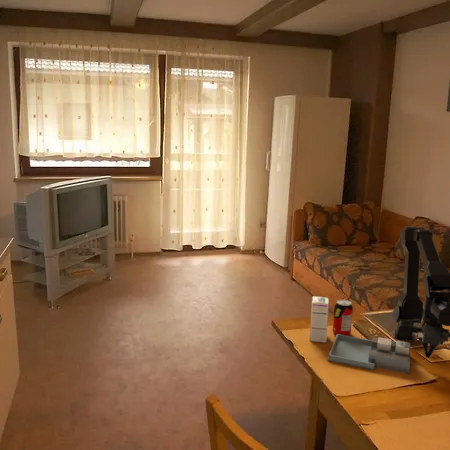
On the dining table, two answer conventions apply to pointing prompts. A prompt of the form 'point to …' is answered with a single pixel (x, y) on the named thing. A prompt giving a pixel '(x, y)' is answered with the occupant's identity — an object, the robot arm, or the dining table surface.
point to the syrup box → (319, 319)
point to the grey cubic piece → (402, 348)
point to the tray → (351, 351)
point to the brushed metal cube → (384, 345)
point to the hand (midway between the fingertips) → (427, 357)
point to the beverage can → (342, 317)
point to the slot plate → (389, 358)
